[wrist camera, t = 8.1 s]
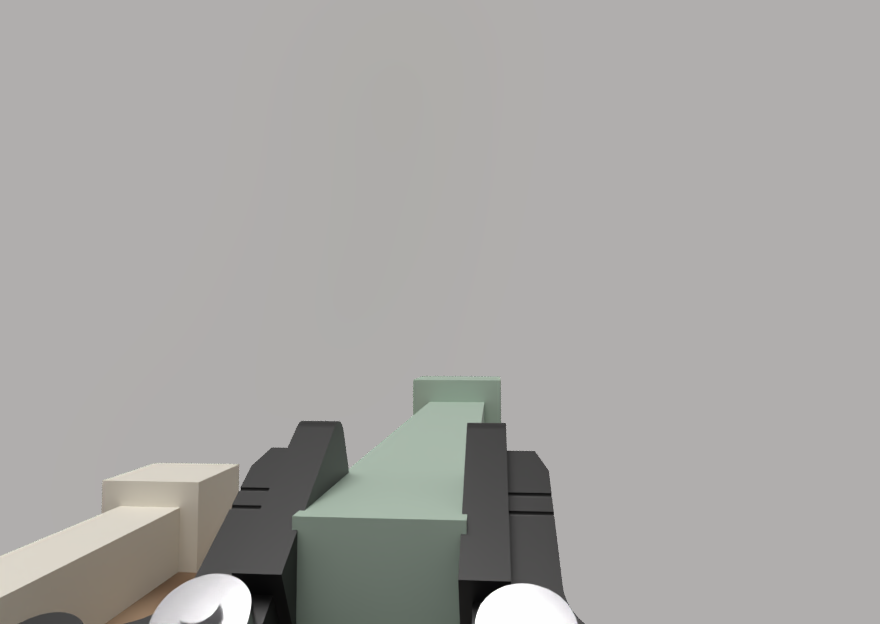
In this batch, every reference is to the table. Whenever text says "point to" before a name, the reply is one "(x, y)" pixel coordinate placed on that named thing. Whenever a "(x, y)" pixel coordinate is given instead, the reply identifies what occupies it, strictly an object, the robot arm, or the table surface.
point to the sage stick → (396, 517)
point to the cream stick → (121, 544)
